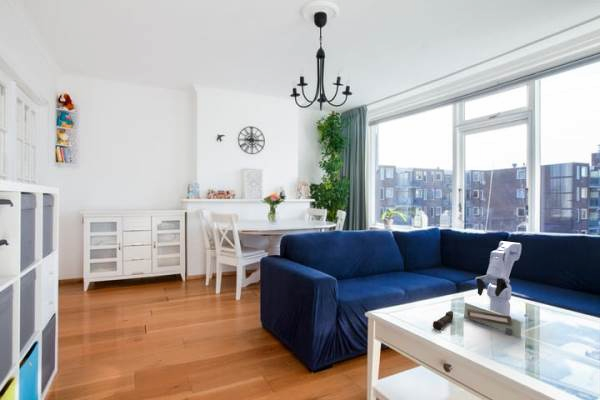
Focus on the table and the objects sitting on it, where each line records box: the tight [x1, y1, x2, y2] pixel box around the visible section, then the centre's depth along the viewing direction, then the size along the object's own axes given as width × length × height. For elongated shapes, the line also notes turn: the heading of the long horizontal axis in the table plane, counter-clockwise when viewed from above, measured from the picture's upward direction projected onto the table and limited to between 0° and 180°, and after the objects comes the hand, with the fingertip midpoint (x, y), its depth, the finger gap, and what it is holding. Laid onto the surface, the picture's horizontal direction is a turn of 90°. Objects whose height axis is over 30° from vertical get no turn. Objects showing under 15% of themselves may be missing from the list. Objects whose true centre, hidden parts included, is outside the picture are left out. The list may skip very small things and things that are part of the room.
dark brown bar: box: [432, 310, 454, 331], centre depth 155 cm, size 19×4×5 cm, turn 133°
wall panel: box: [463, 301, 523, 338], centre depth 155 cm, size 4×26×7 cm, turn 30°
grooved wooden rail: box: [467, 309, 512, 326], centre depth 155 cm, size 1×20×4 cm, turn 30°
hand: (487, 294), depth 151 cm, fingers open, 7 cm apart
